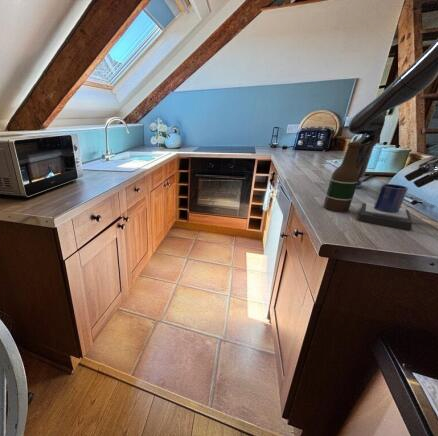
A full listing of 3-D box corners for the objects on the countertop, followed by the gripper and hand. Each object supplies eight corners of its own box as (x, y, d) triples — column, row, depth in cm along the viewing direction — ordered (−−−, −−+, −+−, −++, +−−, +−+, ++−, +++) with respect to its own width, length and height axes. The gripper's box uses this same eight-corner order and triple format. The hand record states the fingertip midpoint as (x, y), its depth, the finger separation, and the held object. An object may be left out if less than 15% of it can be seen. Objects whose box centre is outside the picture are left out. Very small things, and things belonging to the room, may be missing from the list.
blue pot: (373, 205, 86) (381, 183, 82) (398, 209, 82) (407, 185, 79) (373, 210, 81) (381, 186, 78) (399, 214, 77) (409, 190, 74)
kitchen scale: (360, 209, 90) (363, 201, 89) (405, 216, 83) (409, 208, 82) (358, 220, 81) (361, 212, 80) (409, 230, 73) (413, 221, 72)
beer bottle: (325, 203, 97) (343, 140, 87) (350, 208, 91) (371, 141, 82) (320, 208, 92) (338, 142, 82) (346, 213, 86) (368, 143, 77)
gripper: (462, 133, 72) (395, 168, 82) (491, 136, 61) (409, 177, 71) (480, 152, 71) (411, 185, 81) (512, 159, 60) (427, 197, 70)
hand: (410, 181), depth 76 cm, fingers open, 8 cm apart
